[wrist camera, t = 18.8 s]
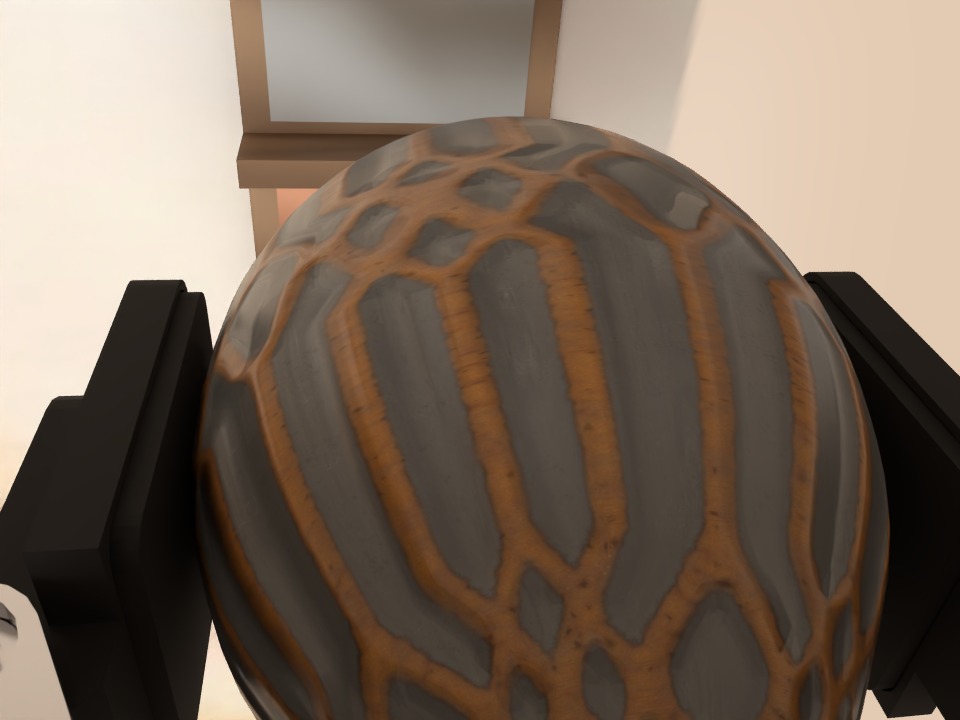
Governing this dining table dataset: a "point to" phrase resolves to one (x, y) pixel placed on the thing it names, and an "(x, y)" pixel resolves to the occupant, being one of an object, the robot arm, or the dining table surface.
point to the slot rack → (374, 82)
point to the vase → (536, 449)
